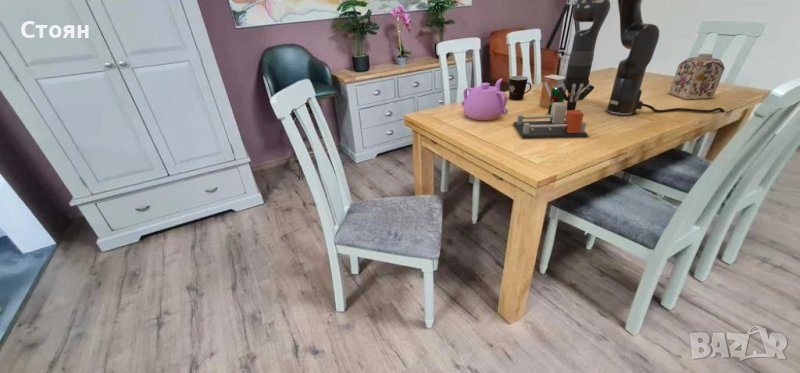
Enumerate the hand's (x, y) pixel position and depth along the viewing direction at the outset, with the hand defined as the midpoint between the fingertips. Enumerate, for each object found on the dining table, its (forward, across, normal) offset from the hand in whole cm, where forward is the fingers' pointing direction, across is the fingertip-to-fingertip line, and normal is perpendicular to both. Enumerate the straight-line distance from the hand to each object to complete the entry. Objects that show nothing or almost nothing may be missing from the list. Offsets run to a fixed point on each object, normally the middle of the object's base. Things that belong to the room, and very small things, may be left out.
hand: (570, 111), depth 126 cm
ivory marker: (+4, -4, 0) cm, 6 cm away
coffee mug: (+6, -10, +38) cm, 40 cm away
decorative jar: (+6, +66, +35) cm, 75 cm away
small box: (+6, +2, +25) cm, 26 cm away
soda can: (+6, 0, +14) cm, 15 cm away
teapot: (+6, -28, +16) cm, 33 cm away
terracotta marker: (+4, -2, -10) cm, 11 cm away
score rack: (+6, -8, -5) cm, 11 cm away
